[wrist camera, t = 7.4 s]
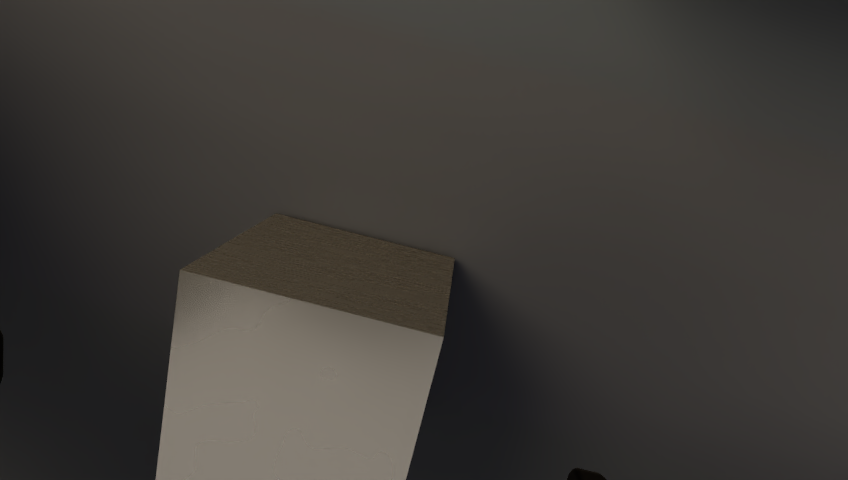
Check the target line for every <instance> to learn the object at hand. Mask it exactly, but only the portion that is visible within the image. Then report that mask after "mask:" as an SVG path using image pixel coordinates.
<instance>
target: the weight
mask: <svg viewBox="0 0 848 480" xmlns="http://www.w3.org/2000/svg"><path fill="white" fill-rule="evenodd" d="M454 260H455V258H452V257H448V256H444V255H440V254H436V253H432V252H428V251H424V250H420V249H416V248H412V247H408V246H404V245H400V244H396V243H392V242H388V241H384V240H380V239H376V238H372V237H368V236H364V235H360V234H356V233H352V232H348V231H344V230H340V229H336V228H332V227H328V226H324V225H320V224H316V223H312V222H308V221H304V220H300V219H296V218H292V217H289V216H285V215H281V214H277V213H276V214H274V215H272V216H271V217H269V218H267V219H266V220H264V221H262V222H260V223H259V224H257V225H255V226H254V227H252V228H250V229H248V230H247V231H245V232H243V233H242V234H240V235H238V236H237V237H235V238H233V239H231V240H230V241H228V242H226V243H225V244H223V245H221V246H219V247H218V248H216V249H214V250H213V251H211V252H209V253H208V254H206V255H204V256H202V257H201V258H199V259H197V260H196V261H194V262H192V263H191V264H189V265H187V266H185V267H184V268H182V269H180V273H179V282H178V291H177V299H176V308H175V316H174V325H173V334H172V342H171V351H170V360H169V368H168V377H167V386H166V394H165V403H164V412H163V420H162V429H161V438H160V446H159V455H158V464H157V472H156V480H406V477H407V474H408V470H409V466H410V462H411V459H412V455H413V451H414V447H415V443H416V440H417V436H418V432H419V428H420V425H421V421H422V417H423V413H424V410H425V406H426V402H427V398H428V395H429V391H430V387H431V383H432V379H433V376H434V372H435V368H436V364H437V361H438V357H439V353H440V349H441V346H442V342H443V338H444V332H445V324H446V317H447V310H448V303H449V296H450V289H451V281H452V274H453V267H454Z"/></svg>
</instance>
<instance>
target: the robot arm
mask: <svg viewBox="0 0 848 480" xmlns="http://www.w3.org/2000/svg"><path fill="white" fill-rule="evenodd" d="M2 377H3V334H2V332H1V331H0V383H1V381H2ZM567 480H606V479H605V478H604V477H603V476H602V475H601V474H599V473H597V472H592V471H588V470H584V469H580V468H574V469H573V470H572V471H571V472H570V474H569V476H568V478H567Z"/></svg>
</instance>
